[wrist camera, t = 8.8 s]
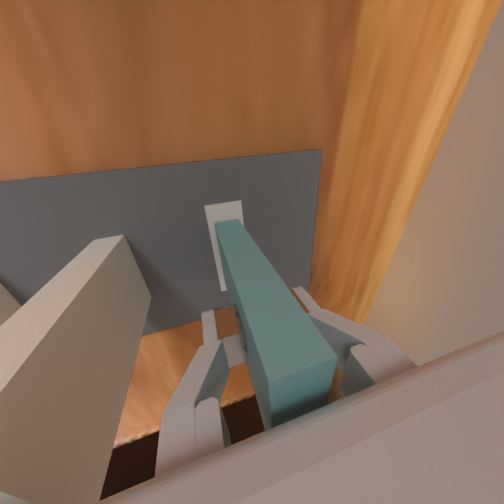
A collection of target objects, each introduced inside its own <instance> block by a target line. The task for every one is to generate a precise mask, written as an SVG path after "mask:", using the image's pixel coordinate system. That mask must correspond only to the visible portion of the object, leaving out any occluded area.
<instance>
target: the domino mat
mask: <svg viewBox="0 0 504 504" xmlns="http://www.w3.org/2000/svg"><path fill="white" fill-rule="evenodd" d="M321 155H322V150H306V151H296V152H286V153H277V154H267V155H257V156H247V157H237V158H227V159H217V160H207V161H197V162H187V163H177V164H168V165H158V166H148V167H138V168H128V169H118V170H108V171H98V172H88V173H78V174H69V175H59V176H49V177H39V178H29V179H19V180H9V181H0V283H1V284H2V285H3V286H4V287H5V288H6V290H7V291H8V292H9V293H10V294H11V295H12V296H13V297H14V298H15V299H16V300H17V302H18V303H19V304H20V305H21V306H23V305H24V304H25V303H26V302H27V301H28V300H29V299H31V298H32V297H33V296H34V295H35V294H36V293H37V292H38V291H39V290H40V289H41V288H42V287H43V286H45V285H46V284H47V283H48V282H49V281H50V280H51V279H52V278H53V277H54V276H55V275H56V274H58V273H59V272H60V271H61V270H62V269H63V268H64V267H65V266H66V265H67V264H68V263H69V262H70V261H72V260H73V259H74V258H75V257H76V256H77V255H78V254H79V253H80V252H81V251H82V250H83V249H85V248H86V247H87V246H88V245H89V244H90V243H91V242H92V241H93V240H95V239H101V238H107V237H113V236H119V235H124V236H125V238H126V240H127V242H128V245H129V247H130V249H131V251H132V254H133V256H134V258H135V260H136V263H137V265H138V267H139V269H140V272H141V274H142V276H143V278H144V281H145V283H146V285H147V287H148V290H149V292H150V294H151V297H152V298H151V302H150V306H149V309H148V313H147V317H146V321H145V325H144V329H143V333H142V335H146V334H150V333H153V332H157V331H161V330H164V329H168V328H172V327H175V326H179V325H183V324H186V323H190V322H194V321H197V320H201V319H202V317H201V314H202V312H203V311H207V310H212V309H214V308H219V307H223V306H227V305H231V303H230V299H229V296H228V292H227V288H226V284H225V279H224V274H223V269H222V263H221V258H220V253H219V247H218V242H217V236H216V231H215V226H214V223H216V222H221V221H227V220H233V219H239V221H240V222H241V224H242V225H243V226H244V228H245V229H246V230H247V232H248V233H249V235H250V236H251V237H252V239H253V240H254V241H255V243H256V244H257V246H258V247H259V248H260V250H261V251H262V253H263V254H264V255H265V257H266V258H267V259H268V261H269V262H270V264H271V265H272V266H273V268H274V269H275V271H276V272H277V273H278V275H279V276H280V277H281V279H282V280H283V282H284V283H285V284H286V286H287V287H288V289H291V288H294V287H298V286H302V287H303V288H304V289H305V290H306V291H307V290H309V288H310V277H311V266H312V255H313V244H314V233H315V222H316V210H317V199H318V188H319V177H320V166H321Z"/></svg>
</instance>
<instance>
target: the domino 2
mask: <svg viewBox="0 0 504 504" xmlns="http://www.w3.org/2000/svg"><path fill="white" fill-rule="evenodd" d="M151 298H152V297H151V294H150V292H149V290H148V287H147V285H146V283H145V281H144V278H143V276H142V274H141V272H140V269H139V267H138V265H137V263H136V260H135V258H134V256H133V254H132V251H131V249H130V247H129V245H128V242H127V240H126V238H125V236H124V235H119V236H113V237H107V238H101V239H95V240H93V241H92V242H91V243H90V244H89V245H88V246H87V247H86V248H85V249H83V250H82V251H81V252H80V253H79V254H78V255H77V256H76V257H75V258H74V259H73V260H72V261H70V262H69V263H68V264H67V265H66V266H65V267H64V268H63V269H62V270H61V271H60V272H59V273H58V274H56V275H55V276H54V277H53V278H52V279H51V280H50V281H49V282H48V283H47V284H46V285H45V286H43V287H42V288H41V289H40V290H39V291H38V292H37V293H36V294H35V295H34V296H33V297H32V298H31V299H29V300H28V301H27V302H26V303H25V304H24V305H23V306H22V307H21V308H20V309H19V310H18V311H17V312H15V313H14V314H13V315H12V316H11V317H10V318H9V319H8V320H7V321H6V322H5V323H4V324H2V325H1V326H0V504H94V503H96V502H99V499H100V495H101V491H102V487H103V484H104V480H105V476H106V472H107V468H108V464H109V460H110V456H111V452H112V449H113V445H114V441H115V437H116V433H117V429H118V426H119V422H120V418H121V414H122V410H123V406H124V402H125V398H126V395H127V391H128V387H129V383H130V379H131V375H132V371H133V367H134V364H135V360H136V356H137V352H138V348H139V344H140V340H141V337H142V333H143V329H144V325H145V321H146V317H147V313H148V309H149V306H150V302H151Z"/></svg>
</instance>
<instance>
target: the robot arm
mask: <svg viewBox="0 0 504 504" xmlns="http://www.w3.org/2000/svg"><path fill="white" fill-rule="evenodd" d="M289 290H290V291H291V293H292V294H293V295H294V297H295V298H296V300H297V301H298V302H299V304H300V305H301V307H302V308H303V309H304V311H305V312H306V313H307V315H308V316H309V318H310V319H311V320H312V322H313V323H314V324H315V326H316V327H317V329H318V330H319V331H320V333H321V334H322V336H323V337H324V338H325V340H326V341H327V342H328V344H329V345H330V347H331V348H332V349H333V351H334V352H335V354H336V355H337V356H338V358H337V362H336V367H337V368H338V369H340V370H341V371H343V372H344V373H343V377H342V381H341V384H340V389H341V390H342V392H343V394H344V395H345V397H344V398H342V399H340V400H337V401H335V402H333V403H330V404H328V405H326V406H323V407H321V408H318V409H316V410H314V411H311V412H309V413H307V414H304V415H302V416H299V417H297V418H295V419H292V420H290V421H288V422H285V423H283V424H281V425H278V426H276V427H273V428H271V429H269V430H266V431H264V432H262V433H260V434H257V435H255V436H252V437H250V438H248V439H245V440H243V441H241V442H238V443H236V444H233V445H231V441H230V435H229V431H228V428H227V425H226V422H225V419H224V416H223V413H222V410H221V407H220V404H219V402H220V399H221V396H222V393H223V390H224V386H225V383H226V380H227V377H228V373H229V370H230V369H229V368H231V367H234V366H237V365H240V364H242V363H245V362H248V361H249V357H248V350H247V347H246V344H247V342H246V336H245V331H244V327H243V324H242V321H241V318H240V317H239V312H238V308H237V305H236V303H235V304H231V305H227V306H223V307H219V308H214V309H212V310H207V311H203V312H202V314H201V317H202V330H203V344H204V345H201V346H199V348H198V350H197V352H196V354H195V355H194V357H193V359H192V361H191V362H190V364H189V366H188V368H187V370H186V371H185V373H184V375H183V377H182V379H181V380H180V382H179V384H178V386H177V387H176V389H175V391H174V393H173V395H172V396H171V398H170V400H169V402H168V403H167V405H166V407H165V409H164V411H163V412H162V416H161V425H160V435H159V443H158V452H157V461H156V470H155V478H153V479H151V480H148V481H146V482H144V483H141V484H139V485H136V486H134V487H132V488H129V489H127V490H125V491H122V492H120V493H118V494H115V495H113V496H110V497H108V498H106V499H103V500H101V501H99V502H96V503H94V504H504V330H503V331H501V332H499V333H496V334H493V335H491V336H489V337H486V338H484V339H482V340H479V341H477V342H475V343H472V344H470V345H467V346H465V347H463V348H460V349H458V350H456V351H453V352H451V353H449V354H446V355H444V356H441V357H439V358H437V359H434V360H432V361H430V362H427V363H425V364H422V365H420V366H417V365H416V364H415V363H414V362H413V361H412V360H411V359H410V358H409V357H408V356H407V355H406V354H405V353H403V352H402V351H401V350H400V349H399V348H398V347H397V346H396V345H395V344H394V343H393V342H392V341H391V340H390V339H389V338H387V337H386V336H385V335H384V334H382V333H380V332H378V331H375V330H373V329H371V328H369V327H366V326H364V325H362V324H359V323H357V322H355V321H352V320H350V319H348V318H346V317H343V316H341V315H339V314H336V313H334V312H332V311H329V310H327V309H325V308H324V309H321V308H320V307H319V306H318V304H317V303H316V302H315V301H314V300H313V298H312V297H311V296H310V295H309V294H308V293H307V291H306V290H305V289H304V288H303V287H302V286H298V287H294V288H291V289H289Z"/></svg>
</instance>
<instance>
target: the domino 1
mask: <svg viewBox="0 0 504 504" xmlns="http://www.w3.org/2000/svg"><path fill="white" fill-rule="evenodd" d="M21 307H22V306H21V305H20V304H19V303H18V302H17V300H16V299H15V298H14V297H13V296H12V295H11V294H10V293H9V292H8V291H7V290H6V288H5V287H4V286H3V285H2V284H1V283H0V326H1V325H2V324H4V323H5V322H6V321H7V320H8V319H9V318H10V317H11V316H12V315H13V314H14V313H15V312H17V311H18V310H19V309H20V308H21Z"/></svg>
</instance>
